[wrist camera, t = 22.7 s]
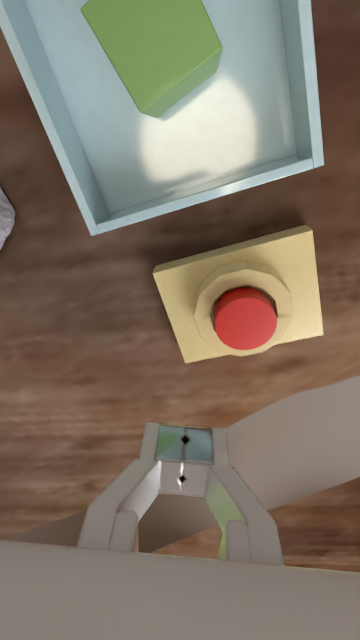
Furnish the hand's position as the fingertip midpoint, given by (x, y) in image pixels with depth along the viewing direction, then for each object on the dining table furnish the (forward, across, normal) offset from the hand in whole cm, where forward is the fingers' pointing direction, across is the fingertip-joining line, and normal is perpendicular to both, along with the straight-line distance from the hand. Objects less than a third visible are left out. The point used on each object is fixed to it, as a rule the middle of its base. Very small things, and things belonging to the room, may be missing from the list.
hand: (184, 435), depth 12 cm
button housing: (+17, -4, +2) cm, 17 cm away
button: (+14, -4, +2) cm, 14 cm away
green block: (+16, +3, -14) cm, 21 cm away
